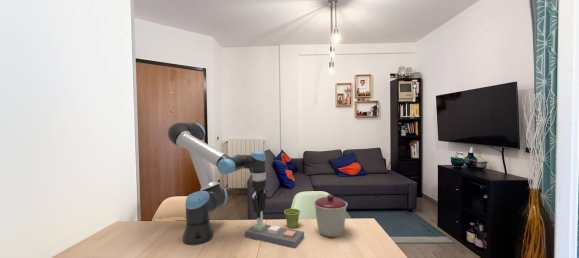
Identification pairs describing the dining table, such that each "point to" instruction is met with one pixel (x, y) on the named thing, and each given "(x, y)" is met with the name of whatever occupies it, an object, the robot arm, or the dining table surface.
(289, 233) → the terracotta key
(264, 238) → the keypad
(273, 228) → the cream key
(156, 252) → the dining table surface
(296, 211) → the plant pot
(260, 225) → the sage key
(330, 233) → the canister
